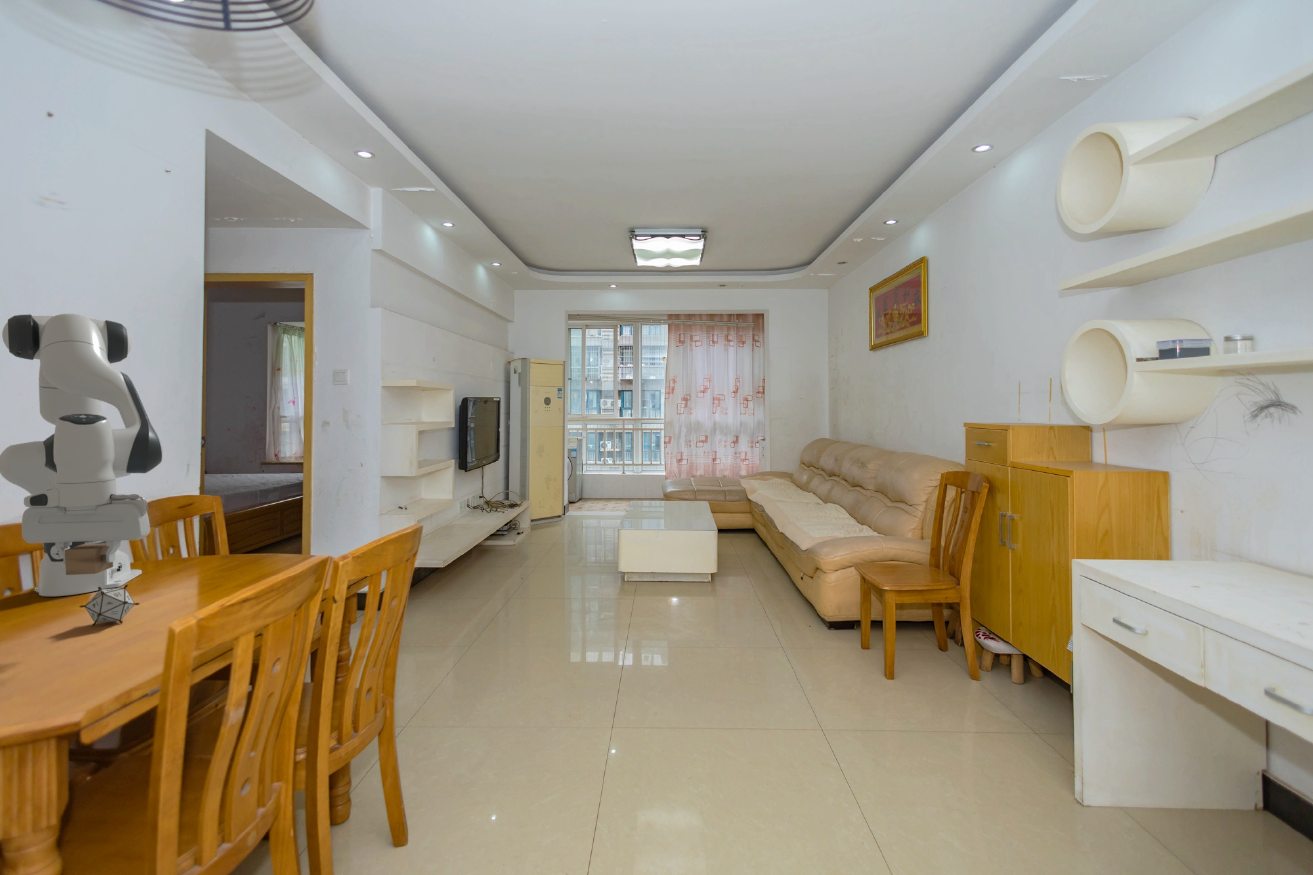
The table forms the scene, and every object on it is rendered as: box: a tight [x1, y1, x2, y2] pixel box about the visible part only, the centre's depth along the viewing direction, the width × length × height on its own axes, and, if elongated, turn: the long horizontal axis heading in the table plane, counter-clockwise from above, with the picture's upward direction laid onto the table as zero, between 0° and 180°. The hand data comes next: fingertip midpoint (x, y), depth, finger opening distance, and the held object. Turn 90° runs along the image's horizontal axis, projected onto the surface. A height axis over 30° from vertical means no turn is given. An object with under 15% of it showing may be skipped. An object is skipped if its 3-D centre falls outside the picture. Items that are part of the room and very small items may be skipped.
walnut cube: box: [65, 543, 113, 575], centre depth 119 cm, size 5×5×5 cm
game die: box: [78, 583, 140, 628], centre depth 129 cm, size 9×8×10 cm
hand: (89, 562), depth 119 cm, fingers closed on walnut cube, 5 cm apart
